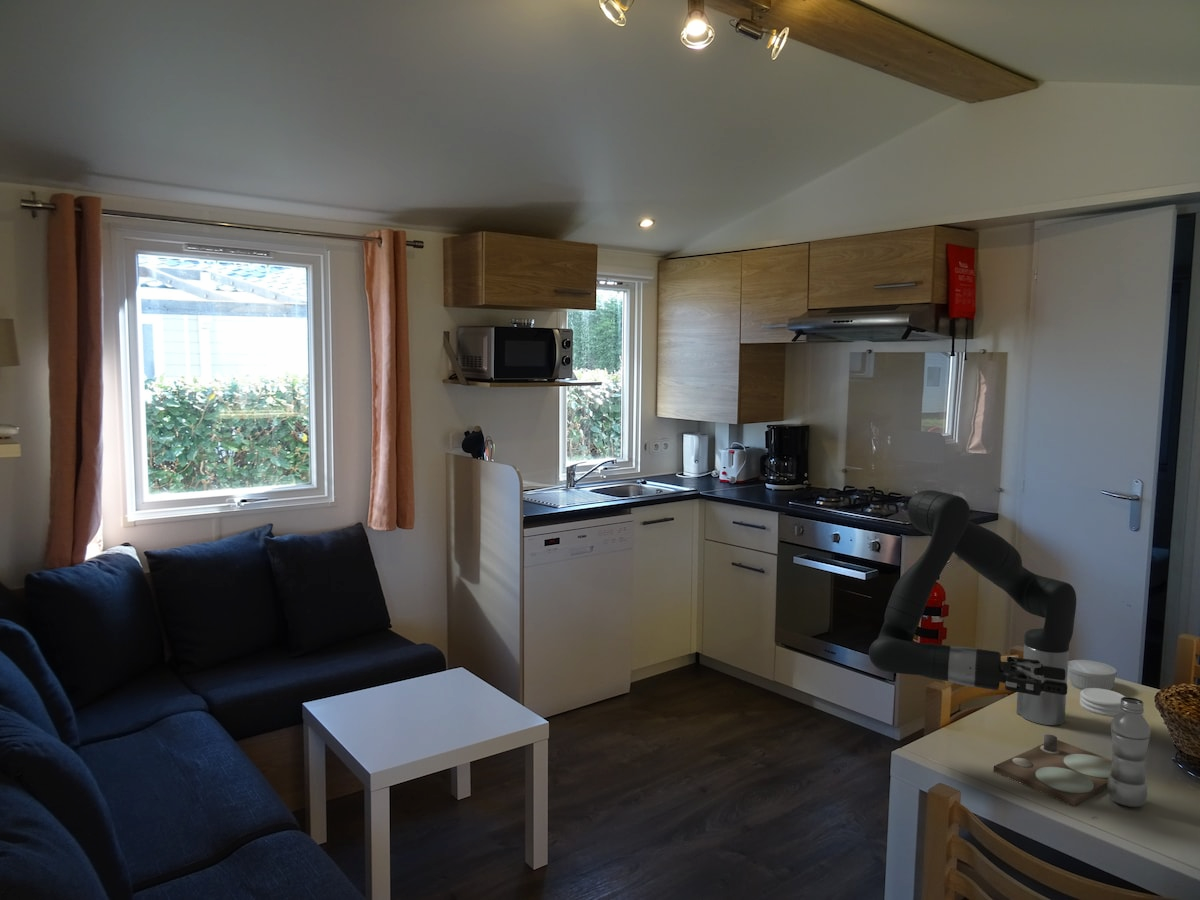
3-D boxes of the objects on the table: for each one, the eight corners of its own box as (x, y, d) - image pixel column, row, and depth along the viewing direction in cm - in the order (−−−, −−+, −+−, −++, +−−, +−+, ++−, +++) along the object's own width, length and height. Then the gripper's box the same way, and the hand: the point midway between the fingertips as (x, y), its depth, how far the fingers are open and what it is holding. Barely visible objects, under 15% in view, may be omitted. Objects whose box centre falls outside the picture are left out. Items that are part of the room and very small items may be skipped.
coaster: (1102, 699, 207) (1103, 685, 207) (1137, 715, 198) (1138, 700, 197) (1069, 703, 205) (1070, 689, 204) (1103, 719, 195) (1104, 705, 195)
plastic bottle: (1149, 801, 158) (1155, 699, 156) (1143, 815, 153) (1149, 710, 151) (1110, 790, 162) (1116, 690, 160) (1102, 803, 157) (1108, 701, 155)
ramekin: (1055, 682, 218) (1057, 663, 217) (1082, 675, 223) (1083, 656, 222) (1098, 697, 208) (1099, 677, 207) (1125, 690, 213) (1126, 670, 212)
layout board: (993, 771, 169) (994, 751, 169) (1054, 744, 182) (1055, 725, 181) (1073, 806, 156) (1075, 784, 156) (1133, 773, 169) (1134, 753, 168)
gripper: (973, 659, 160) (1069, 674, 153) (976, 639, 173) (1065, 651, 166) (971, 697, 161) (1066, 713, 154) (974, 674, 174) (1063, 688, 166)
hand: (1066, 681), depth 160 cm, fingers open, 8 cm apart
